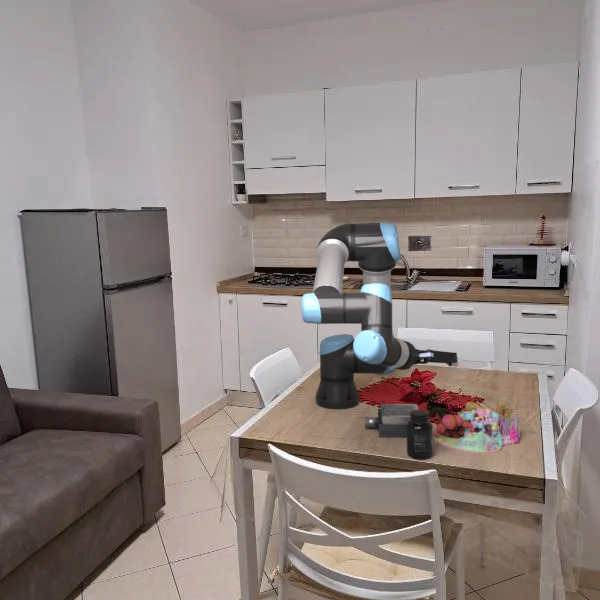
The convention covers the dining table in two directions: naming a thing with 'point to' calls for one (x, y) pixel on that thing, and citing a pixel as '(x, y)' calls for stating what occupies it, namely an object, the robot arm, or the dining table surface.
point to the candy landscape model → (478, 429)
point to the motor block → (392, 420)
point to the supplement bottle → (419, 435)
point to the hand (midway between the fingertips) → (434, 363)
